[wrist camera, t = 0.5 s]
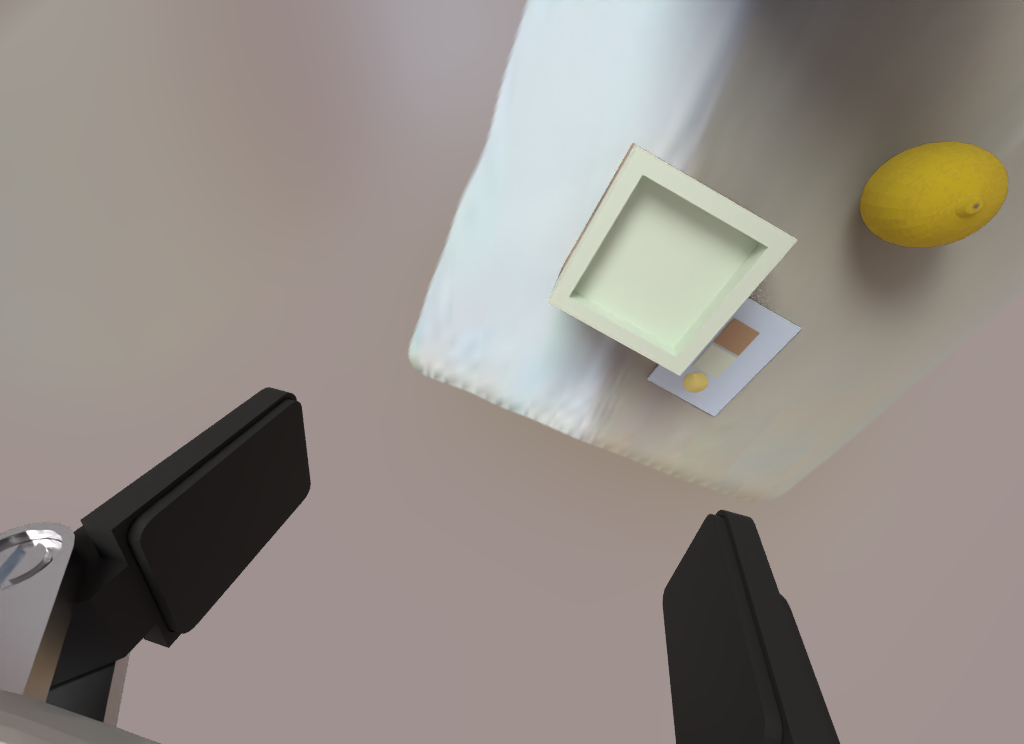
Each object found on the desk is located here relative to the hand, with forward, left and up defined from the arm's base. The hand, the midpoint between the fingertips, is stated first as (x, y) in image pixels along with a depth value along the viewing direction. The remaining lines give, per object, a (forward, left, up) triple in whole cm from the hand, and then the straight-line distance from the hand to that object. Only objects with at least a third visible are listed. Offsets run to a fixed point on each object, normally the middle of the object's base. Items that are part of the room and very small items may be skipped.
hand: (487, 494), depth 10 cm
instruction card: (+3, +15, -28) cm, 32 cm away
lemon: (-12, +16, -28) cm, 35 cm away
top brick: (-2, +5, -24) cm, 25 cm away
